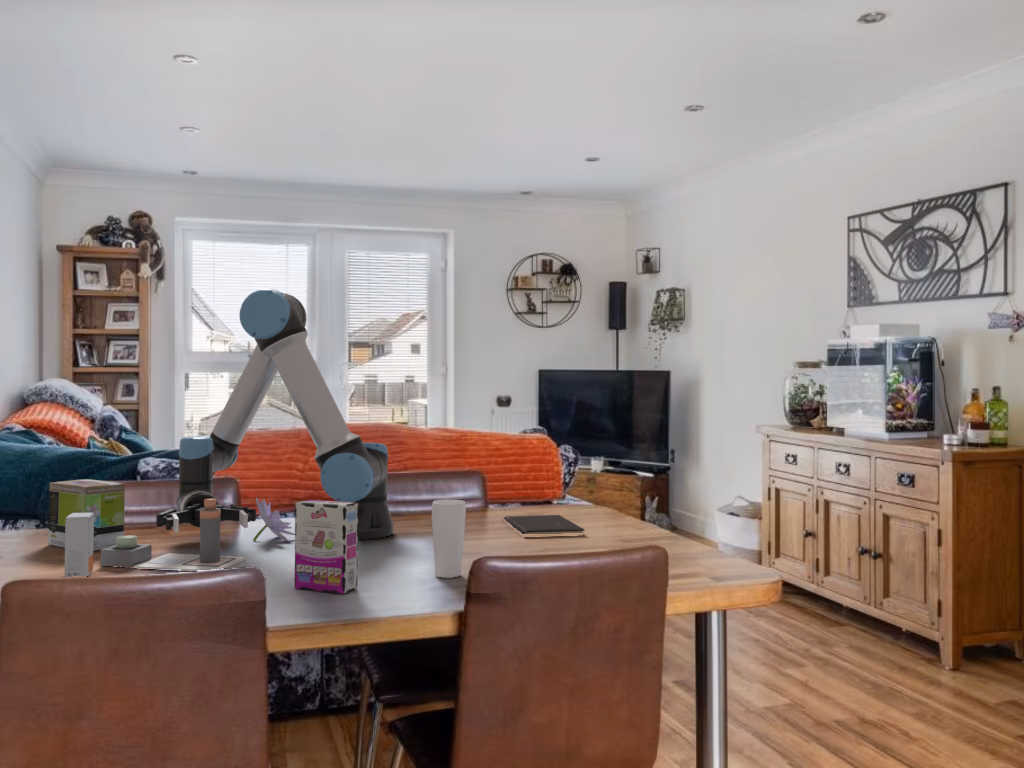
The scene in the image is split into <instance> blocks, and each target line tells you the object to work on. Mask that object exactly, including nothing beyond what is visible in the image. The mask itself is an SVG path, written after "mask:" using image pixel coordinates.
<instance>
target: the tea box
mask: <svg viewBox="0 0 1024 768" xmlns="http://www.w3.org/2000/svg"><path fill="white" fill-rule="evenodd" d="M48 485H49V489H48V546H54V547H60V548H64V549H65V521H66V517H68V515H70V514H72V513H94V537H93V552H95V551H101V550H102V549H105V548H108V547H111V546H114V545H116V538H117V537H119V536H125V515H124V496H125V486H126V484H125V482H117V481H116V482H115V481H107V480H99V479H98V480H97V479H91V478H89V479H85V478H84V479H74V480H73V479H72V480H63V481H55V482H53V481H52V482H49V484H48Z"/></svg>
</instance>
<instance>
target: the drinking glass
mask: <svg viewBox="0 0 1024 768" xmlns="http://www.w3.org/2000/svg"><path fill="white" fill-rule="evenodd" d="M431 506H432V507H431V528H432V529H431V530H432V540H433V541H432V542H433V544H432V545H433V556H434V557H433V559H434V575H435V576H436V577H437V578H440V577H441V578H440V579H455V578H454V577H456V578H459V577H460V576H461V575H462V563H463V553H464V552H463V551H464V539H465V529H466V521H467V520H466V517H467V514H466V513H467V511H466V501H464V500H460V499H437V500H434V501H432V504H431ZM458 576H459V577H458Z"/></svg>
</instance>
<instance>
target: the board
mask: <svg viewBox="0 0 1024 768" xmlns="http://www.w3.org/2000/svg"><path fill="white" fill-rule="evenodd" d="M245 560H246V556H232V555H230V556H229V555H220V561H219V562H216V563H200V554H191V553H189V554H188V553H172V552H171V553H170V552H169V553H165V554H162V555H160V556H157V557H154V558H152V559H151V560H148V561H145V562H143V563H140V564H137V565H135V566H133V567H137V568H154V569H181V571H197V570H211V569H221V568H226V569H229V568H230V567H232V566H235V565H237V564H240V563H241V562H243V561H245Z"/></svg>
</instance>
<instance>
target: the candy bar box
mask: <svg viewBox="0 0 1024 768" xmlns="http://www.w3.org/2000/svg"><path fill="white" fill-rule="evenodd" d="M294 509H295V510H294V515H295V516H294V522H295V523H294V525H295V526H294V534H295V535H294V589H296V590H301V591H302V590H303V591H305V590H306V591H312V592H321V593H331V594H341V595H344V594H347V593H350V592H353V591H355V590H357V589H358V554H359V553H358V549H359V548H358V547H359V545H358V542H359V541H358V540H359V539H358V503H351V502H340V501H337V500H334V501H331V500H317V499H308V500H307V499H306V500H301V501H297V502H295V505H294Z"/></svg>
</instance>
